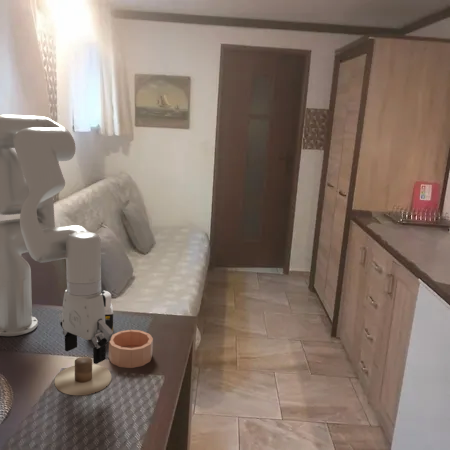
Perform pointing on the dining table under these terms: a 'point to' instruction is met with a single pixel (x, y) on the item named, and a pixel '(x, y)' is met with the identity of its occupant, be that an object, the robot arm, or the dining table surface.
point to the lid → (83, 378)
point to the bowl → (130, 348)
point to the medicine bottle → (108, 309)
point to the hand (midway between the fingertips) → (85, 355)
